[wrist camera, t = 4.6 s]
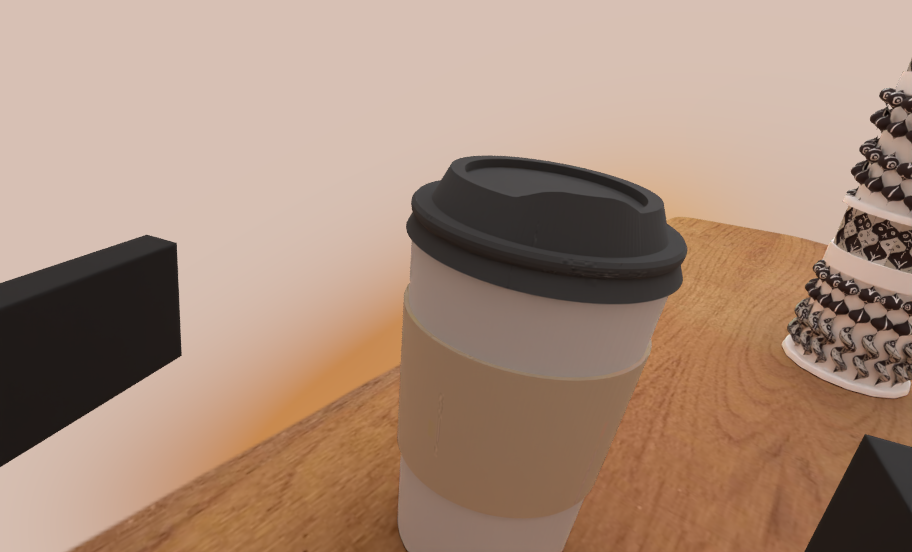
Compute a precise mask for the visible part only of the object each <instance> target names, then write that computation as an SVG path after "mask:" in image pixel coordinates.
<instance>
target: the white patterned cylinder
mask: <svg viewBox="0 0 912 552" xmlns="http://www.w3.org/2000/svg"><path fill="white" fill-rule="evenodd" d="M879 97H880V98H881V99H882V100H883V101H884V102H885V103H886V105H887V104H889V105H890V106H891V107H892V109H891V110H889V109H888V107H886V108H884V109H881V110H879V111H877V112H875V114H873V115H871V117H870V121H871V122H872V123H873V124H875V126H876V127H877V128H879V129H880V131H881V133H882V132H883V133H882V135H881V137H880V138H879V139H877V137H876V138H874V139H871V140H867V141H866V142H865V143H864V144H863V145H862V146H861V147H860V152H861V154H862V155H864V156H865V157H866V159H867V160H866V161H862V162H859V163H857V164H856V166H855V167H853V168H852V169H851V173H852V175H853V176H854V178H855V179H856V181H857V182H859V183H860V186H859V187H858V188H857V189H854V190H849V191H847V193H848V194H847V195H846V196H845V197H844V199H843V202H845V203H846V204H847V205H849V206H848V209H847V210H846V213H845V215H844V217H843V220H842V222H841V224H840V227H839V229H838V232H837V234H836V236H835V238H833V239H832V240H831V241H830V243H829V245H828V248H827V250H826V252H825V255H824V257H823V260H819V261H818V262H817V263H816V264H815V265H814V266H813V271H814V272H815V273H816V275H817V277H818V278H815V279H811V280H810V281H809V283H807V284H806V285H805V289H806V290H807V291H808V294H809V296H810V297H809V298H806V299H804V300H802V301H801V302H800V303H798V304H797V305H796V307H795V314H796V315H797V317H796V318H794V319H793V320H792V321H791V322H790V323H789V324H788V327H787V330H788V332H789V335H788V336H787V337H786V338H785V339H784V341H783V343H782V347H783V349H784V351H785V354H786V355H787V356H788V357H790V358H791V359H792V360H793V361H794V362H795V363H796V364H798V365H799V366H800V367H802V368H804V369H805V370H807V371H809V372H810V373H812V374H814V375H816V376H817V377H819V378H821V379H823V380H826V381H828V382H831V383H833V384H835V385H838V386H840V387H843V388H845V389H848V390H851V391H855V392H859V393H862V394H866V395H870V396H873V397H884V398H899V397H902V396H906V395H908V393H909V390H910V385H911V381H910V380H912V59H911V62H910V64H909V67H908V70H907V71H903V72H902V75H901V77H900V79H899V82H898V84H897V86H896V89H891V88H886V89H883V90H882V91H881V92H880V95H879Z"/></svg>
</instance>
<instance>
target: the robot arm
mask: <svg viewBox="0 0 912 552" xmlns="http://www.w3.org/2000/svg"><path fill="white" fill-rule="evenodd" d="M180 334H181V333H180V310H179V288H178V266H177V244H176V243H174V242H171V241H167V240H164V239H160V238H157V237H153V236H149V235H145V236H142V237H139V238H136V239H133V240H130V241H127V242H124V243H121V244H117V245H115V246H111V247H108V248H106V249H102V250H100V251H96V252H93V253H90V254H87V255H84V256H81V257H79V258H75V259H72V260H69V261H66V262H63V263H60V264H57V265H54V266H51V267H48V268H45V269H42V270H39V271H36V272H33V273H30V274H27V275H24V276H21V277H18V278H15V279H12V280H9V281H6V282H3V283H0V467H1V466H3V465H4V464H6V463H8V462H9V461H11V460H12V459H14V458H16V457H17V456H19V455H21V454H22V453H24V452H26V451H27V450H29V449H30V448H32V447H34V446H35V445H37V444H38V443H40V442H42V441H43V440H45V439H47V438H48V437H50V436H52V435H53V434H55V433H56V432H58V431H60V430H61V429H63V428H64V427H66V426H68V425H69V424H71V423H73V422H74V421H76V420H77V419H79V418H81V417H82V416H84V415H86V414H87V413H89V412H90V411H92V410H94V409H95V408H97V407H98V406H100V405H102V404H104V403H105V402H107V401H108V400H110V399H112V398H113V397H115V396H117V395H118V394H120V393H122V392H123V391H125V390H126V389H128V388H130V387H131V386H133V385H135V384H136V383H138V382H139V381H141V380H143V379H144V378H146V377H148V376H149V375H151V374H152V373H154V372H156V371H157V370H159V369H161V368H162V367H164V366H165V365H167V364H169V363H170V362H172V361H173V360H175V359H177V358H178V357H180V356H181V335H180ZM805 552H912V447H910V446H906V445H902V444H899V443H895V442H891V441H888V440H884V439H881V438H877V437H873V436H870V435H866V434H865V435H864V437H863V439H862V441H861V443H860V445H859V447H858V449H857V451H856V453H855V455H854V456H853V458H852V460H851V462H850V464H849V466H848V468H847V470H846V472H845V474H844V476H843V478H842V480H841V482H840V484H839V486H838V488H837V489H836V491H835V493H834V495H833V497H832V499H831V501H830V503H829V505H828V507H827V509H826V511H825V513H824V515H823V517H822V519H821V521H820V522H819V524H818V526H817V528H816V530H815V532H814V534H813V536H812V538H811V540H810V542H809V544H808V546H807V548H806V550H805Z"/></svg>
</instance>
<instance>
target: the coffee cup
mask: <svg viewBox="0 0 912 552" xmlns="http://www.w3.org/2000/svg"><path fill="white" fill-rule="evenodd" d="M411 205H412V211H413V213H412V214H411V216H410V217H409V219H408V221H407V224H406V229H407V233H408V235H409V237H410V238H411V240H412V248H411V267H410V283H409V284H408V286H407V288H406V290H405V293H404V309H403V328H402V349H401V370H400V391H399V412H398V434H397V438H398V445H399V449H400V452H401V460H400V480H399V499H398V529H399V533H400V536H401V539H402V542H403V544H404V546H405V548H406V549H407V551H408V552H562V551H563V548H564V546H565V543H566V541H567V539H568V536H569V534H570V531H571V529H572V527H573V524H574V522H575V519H576V517H577V515H578V512H579V510H580V507H581V505H582V503H583V500H584V498H585V497H586V496H587V495H588V493H589V492H590V491H591V489H592V487H593V485H594V483H595V481H596V479H597V476H598V474H599V472H600V469H601V467H602V465H603V462H604V460H605V457H606V455H607V453H608V450H609V448H610V446H611V443H612V441H613V439H614V436H615V434H616V432H617V429H618V427H619V425H620V422H621V420H622V417H623V415H624V413H625V410H626V408H627V406H628V403H629V401H630V399H631V396H632V394H633V392H634V389H635V387H636V385H637V382H638V380H639V378H640V375H641V373H642V370H643V368H644V366H645V363H646V361H647V359H648V356H649V354H650V351H651V346H652V343H651V337H652V334H653V332H654V329H655V327H656V325H657V322H658V320H659V317H660V315H661V313H662V310H663V308H664V305H665V303H666V301H667V298H668V296H669V295H671V294H672V293H674V292H675V291H677V290H678V289H679V287H680V286H681V284H682V281H683V276H682V270H681V264H682V262H683V261H684V259H685V257H686V254H687V246H686V243H685V241H684V239H683V237H682V236H681V235H680V234H679V233H678V232H677V231H676V230H675V229H674V228H672V227H671V226H669V225H668V224H667V223H666V216H665V209H664V203H663V201H662V199H661V198H660V197H659V196H657V195H656V194H655V193H653V192H651V191H650V190H648V189H646V188H643V187H641V186H639V185H637V184H634V183H631V182H629V181H626V180H623V179H620V178H617V177H614V176H611V175H607V174H604V173H600V172H596V171H592V170H588V169H585V168H580V167H576V166H571V165H566V164H560V163H555V162H549V161H543V160H536V159H528V158H519V157H508V156H471V157H464V158H460V159H457V160H455V161H453V162H452V164H451V165H450V167H449V168H448V170H447V172H446V173H445V175H444V176H443V178H442V180H440V181H435V182H431V183H428V184H426V185H424V186H422V187H421V188H420V189H418V190H417V191H416V192H415V193H414V195H413V197H412V203H411Z"/></svg>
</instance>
